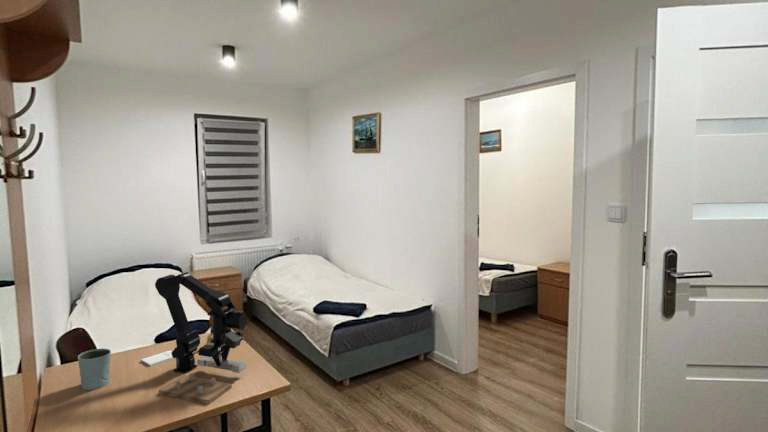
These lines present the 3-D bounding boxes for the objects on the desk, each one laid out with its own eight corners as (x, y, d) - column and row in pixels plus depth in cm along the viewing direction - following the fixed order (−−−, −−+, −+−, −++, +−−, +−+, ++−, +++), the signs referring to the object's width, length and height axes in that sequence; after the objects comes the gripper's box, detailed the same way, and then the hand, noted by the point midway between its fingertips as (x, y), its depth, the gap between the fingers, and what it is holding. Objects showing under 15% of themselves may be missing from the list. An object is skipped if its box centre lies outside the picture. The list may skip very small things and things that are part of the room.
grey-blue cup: (73, 388, 154) (71, 356, 153) (99, 375, 163) (98, 346, 162) (92, 393, 150) (90, 361, 149) (118, 380, 160) (117, 350, 159)
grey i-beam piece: (197, 365, 166) (197, 359, 166) (205, 361, 171) (205, 355, 170) (238, 373, 160) (238, 366, 160) (246, 368, 165) (246, 362, 164)
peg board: (158, 393, 150) (158, 383, 150) (184, 378, 162) (183, 368, 161) (208, 404, 144) (208, 393, 143) (231, 387, 155) (231, 377, 155)
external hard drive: (140, 362, 176) (170, 353, 186) (150, 368, 172) (179, 357, 182) (140, 359, 176) (169, 349, 186) (149, 364, 171) (179, 354, 182)
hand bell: (226, 343, 196) (225, 310, 194) (215, 351, 188) (214, 316, 186) (210, 342, 197) (208, 309, 196) (199, 349, 189) (198, 315, 188)
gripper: (221, 337, 153) (222, 378, 154) (252, 321, 170) (253, 357, 172) (196, 333, 156) (198, 373, 158) (229, 318, 174) (230, 354, 175)
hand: (221, 364), depth 165 cm, fingers closed on grey i-beam piece, 3 cm apart
